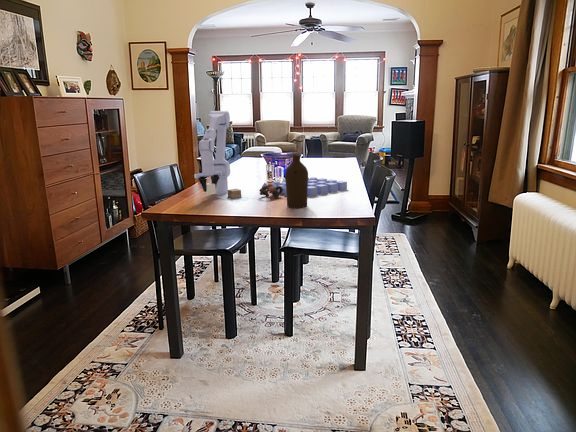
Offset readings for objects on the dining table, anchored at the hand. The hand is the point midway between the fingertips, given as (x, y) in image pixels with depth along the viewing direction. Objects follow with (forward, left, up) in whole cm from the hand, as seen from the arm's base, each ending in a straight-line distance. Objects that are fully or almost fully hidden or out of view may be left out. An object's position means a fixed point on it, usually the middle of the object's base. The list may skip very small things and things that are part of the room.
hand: (209, 190), depth 226 cm
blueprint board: (+4, +12, -5) cm, 14 cm away
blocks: (+10, +52, -6) cm, 53 cm away
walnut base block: (+4, +12, -5) cm, 13 cm away
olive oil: (+40, +25, -5) cm, 47 cm away
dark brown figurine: (+17, +26, -5) cm, 32 cm away
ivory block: (0, 0, -2) cm, 2 cm away
